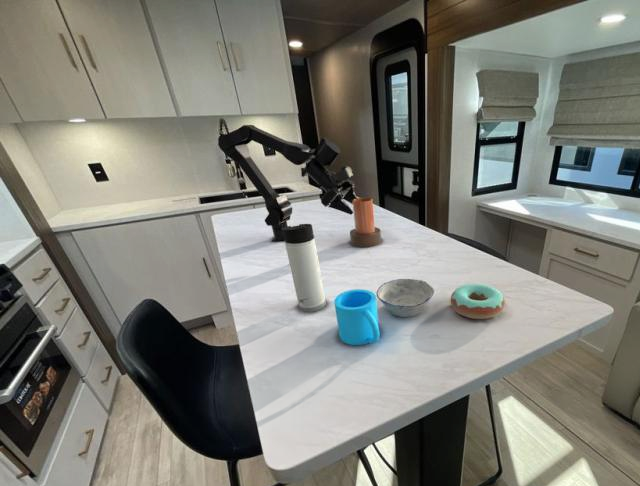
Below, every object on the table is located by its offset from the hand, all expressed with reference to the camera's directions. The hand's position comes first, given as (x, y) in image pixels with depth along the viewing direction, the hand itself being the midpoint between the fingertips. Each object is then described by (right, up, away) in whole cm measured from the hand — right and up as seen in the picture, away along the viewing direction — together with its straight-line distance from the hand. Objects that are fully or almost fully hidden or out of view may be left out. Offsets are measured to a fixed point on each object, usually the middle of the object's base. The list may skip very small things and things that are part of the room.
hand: (356, 210), depth 111 cm
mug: (+8, -39, -46) cm, 61 cm away
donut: (+33, -33, -38) cm, 60 cm away
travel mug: (-6, -33, -34) cm, 48 cm away
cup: (+3, -7, +3) cm, 8 cm away
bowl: (+16, -33, -37) cm, 52 cm away
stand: (+3, -10, +5) cm, 12 cm away
